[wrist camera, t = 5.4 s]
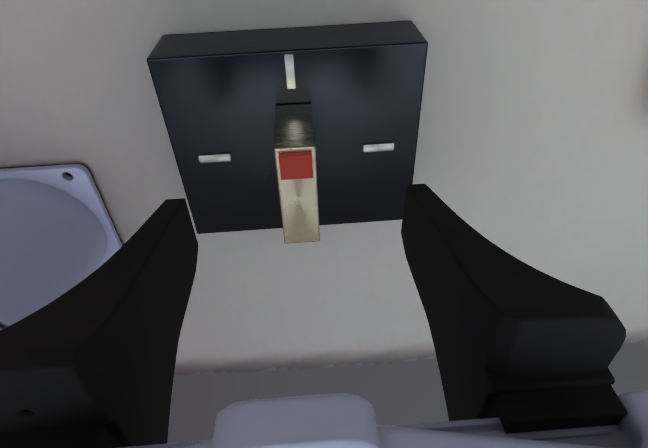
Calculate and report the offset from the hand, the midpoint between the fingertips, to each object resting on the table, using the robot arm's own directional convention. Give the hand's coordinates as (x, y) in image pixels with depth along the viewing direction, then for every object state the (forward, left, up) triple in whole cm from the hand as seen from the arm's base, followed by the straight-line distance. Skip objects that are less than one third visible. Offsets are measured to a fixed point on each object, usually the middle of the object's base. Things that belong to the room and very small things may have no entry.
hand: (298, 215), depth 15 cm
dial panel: (0, -1, -9) cm, 9 cm away
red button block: (0, -1, -6) cm, 6 cm away
